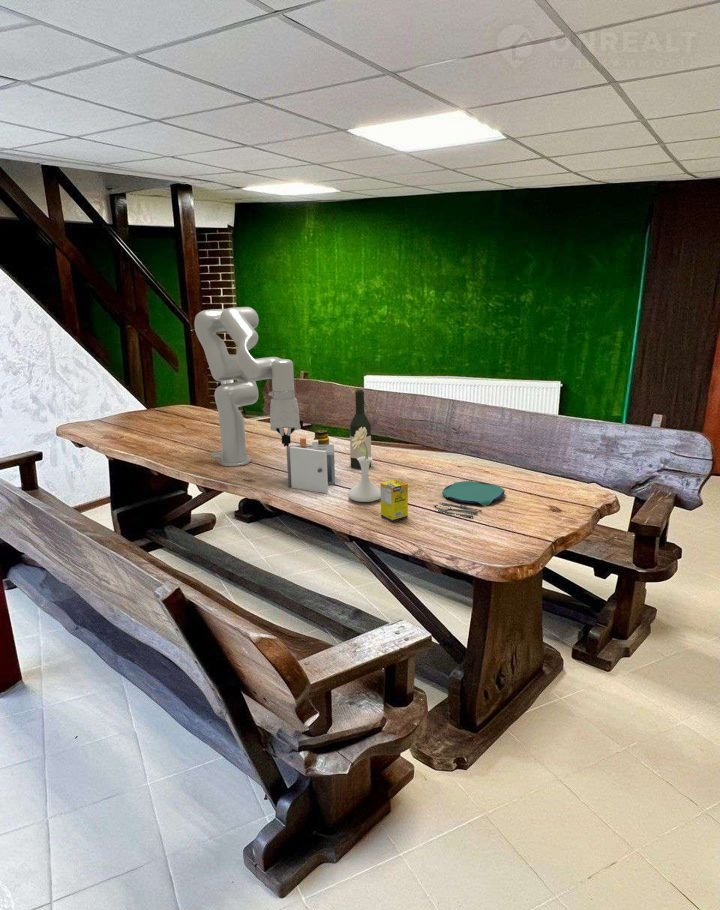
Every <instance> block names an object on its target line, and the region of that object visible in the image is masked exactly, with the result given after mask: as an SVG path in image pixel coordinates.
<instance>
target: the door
mask: <svg viewBox="0 0 720 910" xmlns="http://www.w3.org/2000/svg"><path fill="white" fill-rule="evenodd" d="M290 446H291V445H289V446H285V447H286V462H287V484H288V488H291V489H298V490H304V491H310V492H316V493H321V492H322V494H328V493H329V485H328V477H327V451H322V450H314V449H306V448H299V447H290ZM327 492H328V493H327Z"/></svg>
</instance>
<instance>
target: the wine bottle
mask: <svg viewBox="0 0 720 910" xmlns="http://www.w3.org/2000/svg"><path fill="white" fill-rule="evenodd" d="M354 393H355V396H354V397H355V413H354V416H353V417H352V418H351V421H350V423H349V443H350V444H349V450H350V456H349V457H350V468H351V469H356V470H361V465H360V463H359V461H358V460H357V458H359V457H365V456H366V455H364V454H363V453H361V452H360V448H361V447H360V448H359V449H356V450H355V449H354V450H353V448H354V447H351V446H352V443H353V442H354V441H352V439H353V438H354V437H355V436H354V435H355V434H356V431H359V428H361V427H362V429H363V428H364V427H365V428H366V430H367V432H366V433H367V435H366V438H365V441H364V442H365V444H366V447H367V452H368V451H369V453H368V457H371V458H372V426H371V422H370V420H369V419H368V417H367V416H366V414H365V391H364V389H363V388H357V389H356V391H355V392H354ZM361 446H362V447H363V448H364V449H365V450H366V447H365V445H364V443H363V444H362V445H361ZM369 467H370V468H372V461H371V462H370V465H369Z"/></svg>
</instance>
